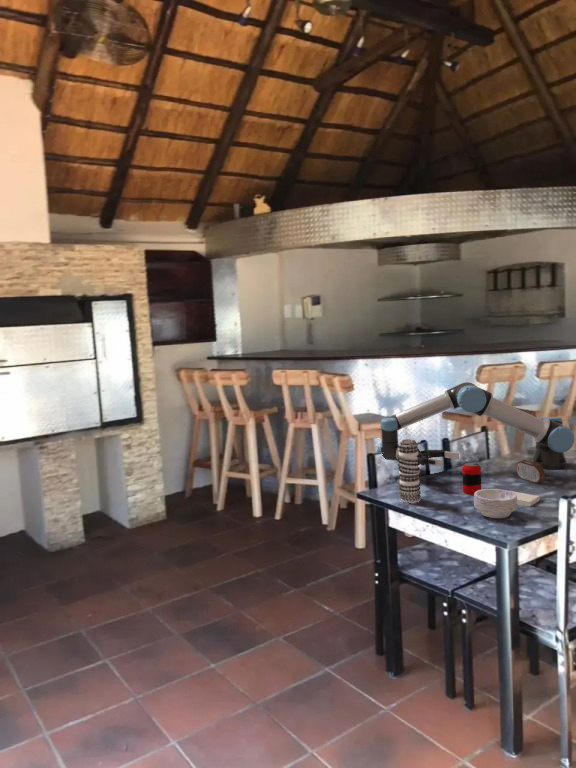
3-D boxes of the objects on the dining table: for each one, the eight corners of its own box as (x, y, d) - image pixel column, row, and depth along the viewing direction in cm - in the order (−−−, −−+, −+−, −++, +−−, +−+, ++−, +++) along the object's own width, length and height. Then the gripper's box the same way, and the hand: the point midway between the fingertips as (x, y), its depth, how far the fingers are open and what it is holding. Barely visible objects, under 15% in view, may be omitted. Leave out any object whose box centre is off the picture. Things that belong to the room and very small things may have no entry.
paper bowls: (523, 512, 228) (523, 491, 227) (507, 524, 217) (507, 502, 216) (484, 505, 238) (484, 485, 237) (467, 516, 227) (466, 496, 226)
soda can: (482, 495, 251) (481, 466, 249) (463, 495, 252) (462, 466, 251) (480, 489, 258) (479, 462, 257) (462, 489, 260) (461, 462, 258)
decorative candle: (410, 495, 256) (407, 437, 253) (426, 500, 249) (424, 440, 246) (394, 500, 251) (391, 440, 248) (410, 505, 244) (408, 444, 241)
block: (497, 496, 243) (529, 501, 234) (507, 490, 249) (539, 496, 240) (497, 501, 243) (529, 507, 234) (508, 495, 249) (539, 501, 240)
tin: (545, 484, 260) (545, 465, 259) (540, 485, 259) (539, 466, 258) (520, 476, 274) (520, 458, 273) (514, 477, 273) (514, 459, 272)
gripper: (423, 456, 287) (464, 461, 272) (393, 468, 269) (436, 474, 254) (422, 440, 286) (464, 445, 271) (392, 452, 268) (435, 457, 254)
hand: (450, 459), depth 263 cm, fingers open, 13 cm apart
